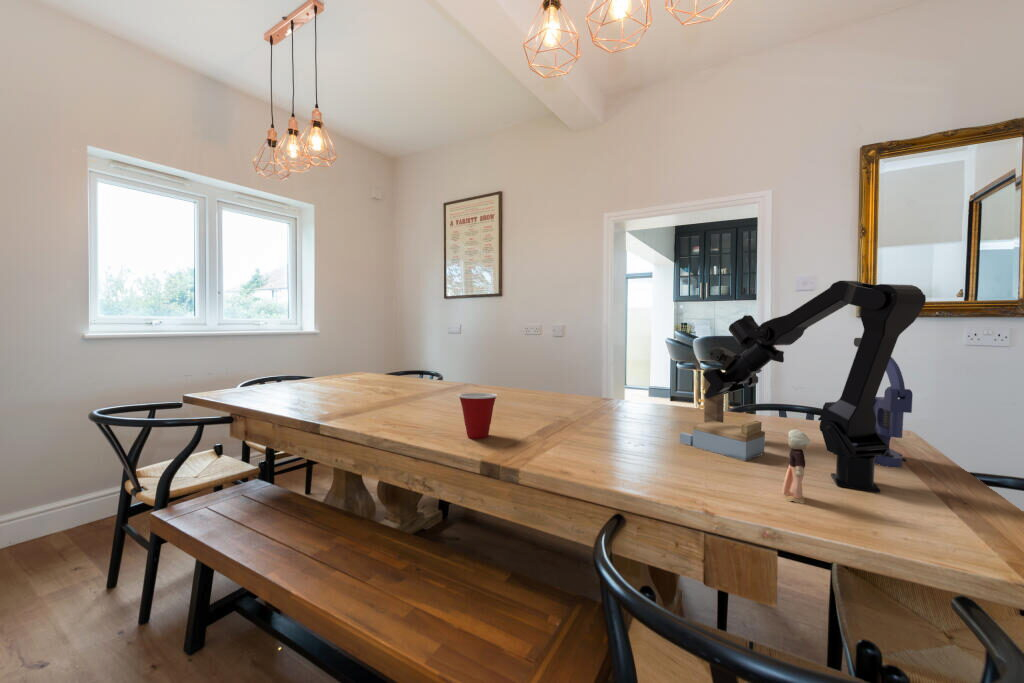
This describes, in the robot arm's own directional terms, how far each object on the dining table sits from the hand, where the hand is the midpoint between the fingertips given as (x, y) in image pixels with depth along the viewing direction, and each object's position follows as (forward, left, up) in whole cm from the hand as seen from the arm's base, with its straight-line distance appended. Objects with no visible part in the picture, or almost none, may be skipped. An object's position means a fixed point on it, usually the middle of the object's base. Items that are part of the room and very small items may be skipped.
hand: (709, 396), depth 113 cm
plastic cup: (-34, +56, -11) cm, 66 cm away
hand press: (0, -35, -11) cm, 37 cm away
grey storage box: (-12, -3, -11) cm, 16 cm away
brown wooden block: (-1, -1, -7) cm, 7 cm away
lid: (-12, -5, -7) cm, 15 cm away
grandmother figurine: (-38, -16, -11) cm, 43 cm away
